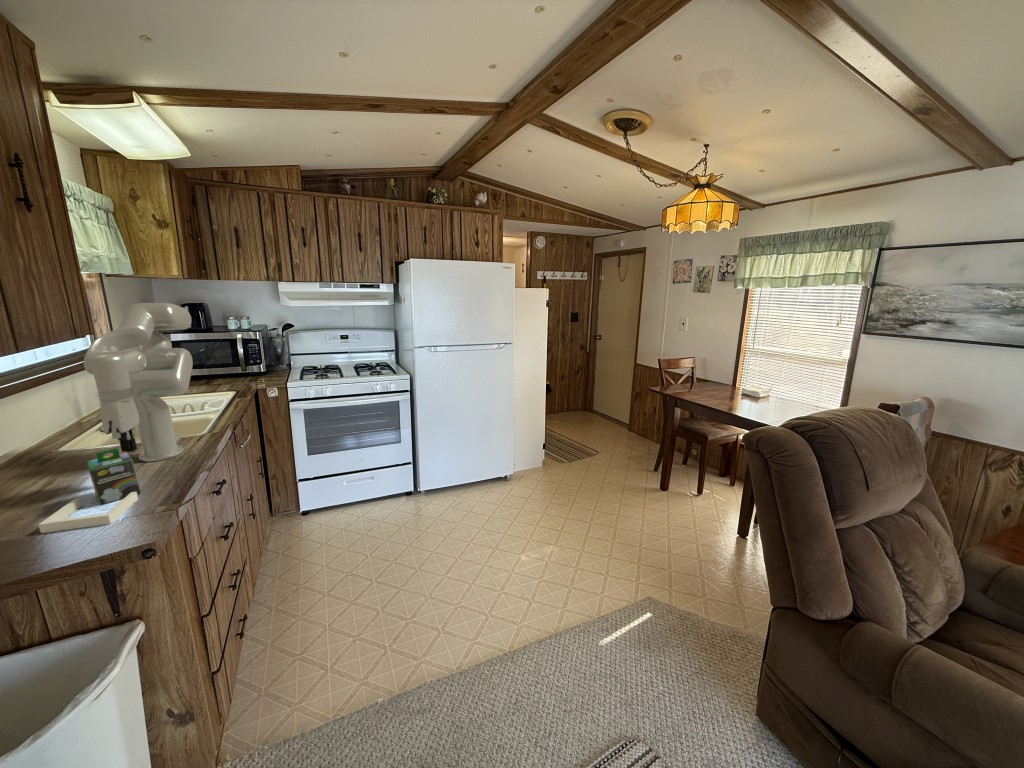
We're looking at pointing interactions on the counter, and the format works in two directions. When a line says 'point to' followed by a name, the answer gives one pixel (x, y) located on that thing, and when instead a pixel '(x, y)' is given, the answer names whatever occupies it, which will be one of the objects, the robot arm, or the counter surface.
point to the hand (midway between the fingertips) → (129, 450)
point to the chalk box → (113, 476)
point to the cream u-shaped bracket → (60, 523)
